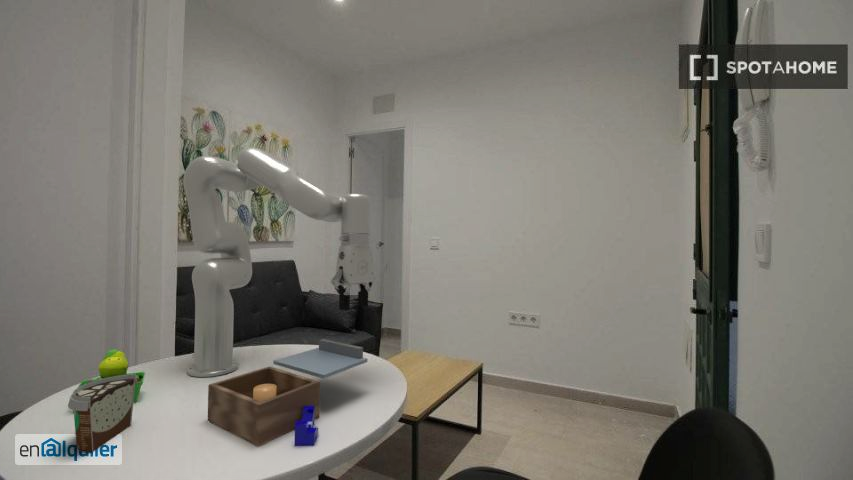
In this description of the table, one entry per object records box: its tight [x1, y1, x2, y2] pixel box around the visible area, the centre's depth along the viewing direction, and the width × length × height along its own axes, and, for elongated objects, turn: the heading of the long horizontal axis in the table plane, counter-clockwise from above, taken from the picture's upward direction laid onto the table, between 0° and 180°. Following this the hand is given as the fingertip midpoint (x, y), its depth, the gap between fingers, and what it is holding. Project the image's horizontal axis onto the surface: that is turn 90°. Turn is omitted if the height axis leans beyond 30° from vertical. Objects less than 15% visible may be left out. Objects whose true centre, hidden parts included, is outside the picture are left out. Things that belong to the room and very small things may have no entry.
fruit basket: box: [77, 349, 146, 404], centre depth 84 cm, size 11×9×11 cm
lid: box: [272, 338, 368, 379], centre depth 90 cm, size 17×14×3 cm
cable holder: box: [293, 406, 319, 447], centre depth 72 cm, size 8×4×4 cm, turn 6°
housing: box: [207, 366, 321, 448], centre depth 77 cm, size 17×14×8 cm
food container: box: [67, 374, 137, 453], centre depth 68 cm, size 12×6×10 cm, turn 5°
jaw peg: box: [253, 384, 277, 402], centre depth 77 cm, size 4×4×6 cm
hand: (353, 307), depth 99 cm, fingers open, 6 cm apart
